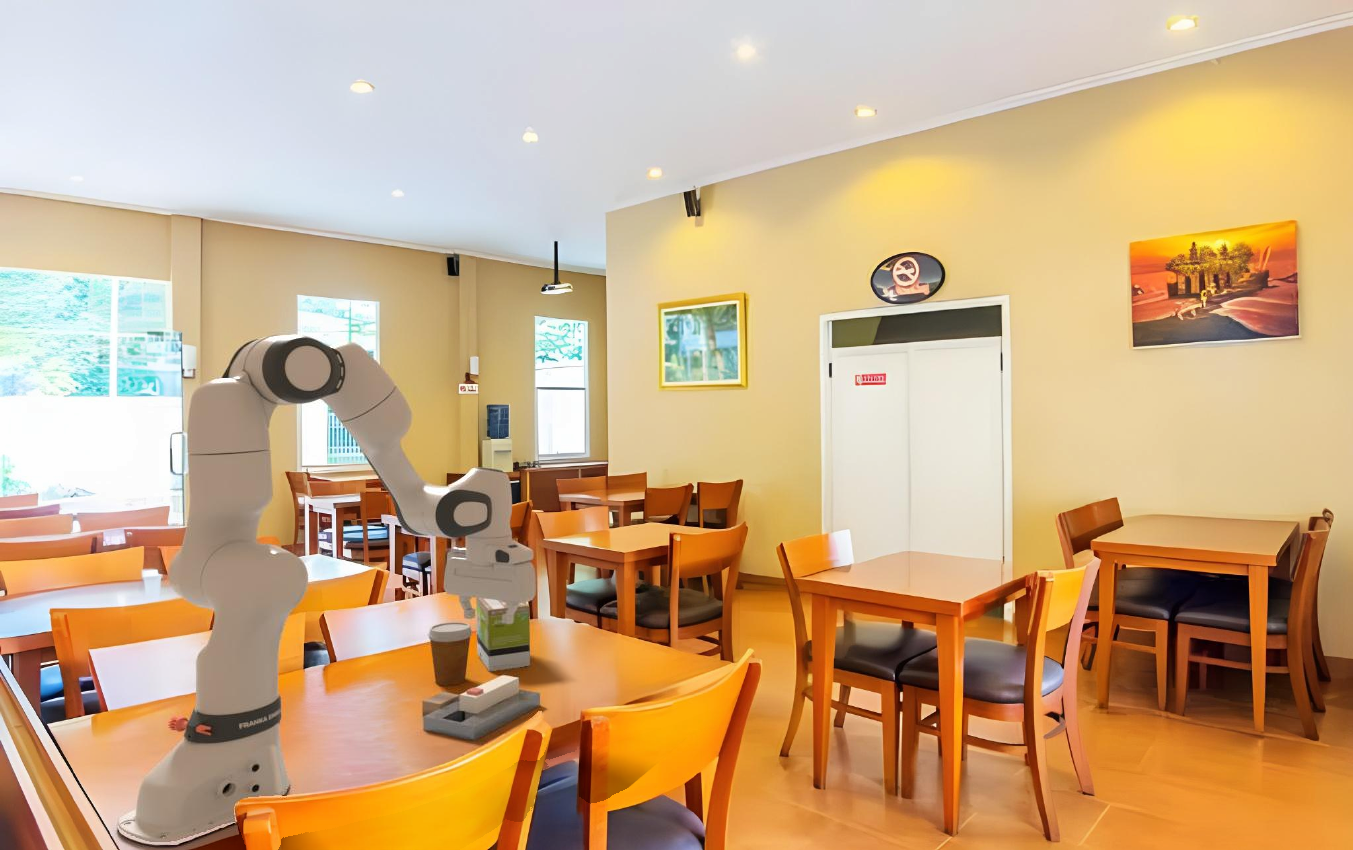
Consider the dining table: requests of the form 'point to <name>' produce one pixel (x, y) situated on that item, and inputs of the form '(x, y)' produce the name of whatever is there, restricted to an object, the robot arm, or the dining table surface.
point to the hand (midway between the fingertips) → (488, 620)
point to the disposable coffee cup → (450, 651)
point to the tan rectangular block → (438, 702)
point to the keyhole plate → (479, 716)
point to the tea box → (502, 635)
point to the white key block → (488, 695)
